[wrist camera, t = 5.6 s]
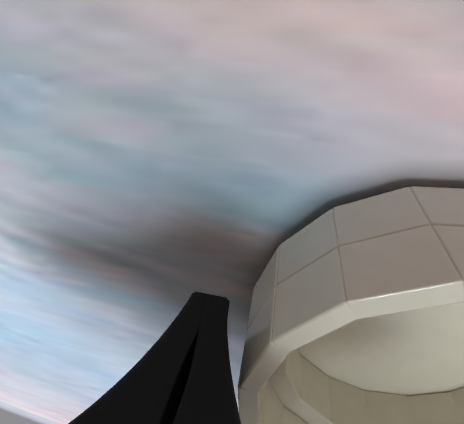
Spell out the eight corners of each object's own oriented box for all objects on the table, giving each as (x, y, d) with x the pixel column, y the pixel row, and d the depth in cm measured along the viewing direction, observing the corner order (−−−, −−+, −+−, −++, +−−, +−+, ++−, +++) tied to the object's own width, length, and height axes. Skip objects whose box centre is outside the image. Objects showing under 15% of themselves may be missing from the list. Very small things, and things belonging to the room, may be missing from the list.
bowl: (511, 417, 15) (580, 555, 12) (254, 382, 17) (241, 493, 13) (671, 188, 9) (915, 317, 6) (255, 171, 11) (232, 261, 7)
